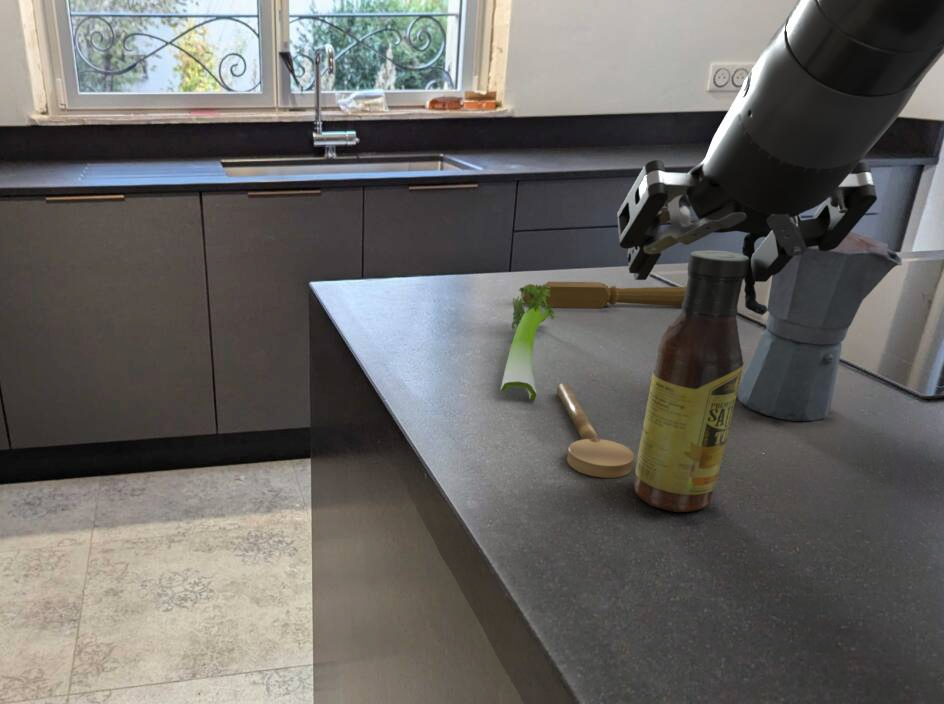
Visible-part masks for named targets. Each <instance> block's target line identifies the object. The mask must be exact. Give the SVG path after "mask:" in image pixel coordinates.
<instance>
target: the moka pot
mask: <svg viewBox="0 0 944 704" xmlns="http://www.w3.org/2000/svg"><path fill="white" fill-rule="evenodd" d="M771 231H772V229H770V228H769V229H765V230H761V231H760V233H746V235H745V236H744V237H743V244H742V245H743V246H742V252H741V253H742V255H745V256H747V257H748V258H749V264H748V271H747V275H746V276H745V278H744V279H743V282H744V284H745V285H744V290H743V291H744V293H745V295H744V306H745V308H746V309H747V310H749V311H752V312H753V313H755V314H758V315H761V316H763V315H765V314H766V313H768V316H767V319H766V323H765V327H766V328H765V330H764V331H763V333H762V335H761V336H760V339H759V341H758V344H757V346H756V348H755V351H754V353H753V355H752V356H751V358H750V361H749V364H748V366H747V368H746V370H745V372H744V375H743V377H742V380H741V382H739V386H738V391H737V395H736V398H737V399H738V400H739V401H740V402H741V403H742V404H744V406H746V408H749V409H751V410H753V411H755V412H759V413H760V414H763V415H764V416H768V417H772V418H774V419H779V420H786V421H790V422H791V421H792V422H815V421H819V420H821V419H824V418H825V417H827V415H828V414H829V411H830V409H831V405H832V400H833V396H834V390H835V384H836V379H837V373H838V368H839V363H840V360H841V353H842V346H843V344H842V342H843V341H844V340H845V338H846V337H847V334H848V331H849V328H850V327H851V325H852V323H853V322H854V319H855V317H856V315H857V314H858V311H859V309H860V306H861V305H862V303H863V301H865V299H866V298H867V297H868V296H869V295H870V294H871V293H872V292H873V290H874V289H875V288H876V287H877V286H878V285H879V284H880V283H881V282H882V281H883V279H885V277H886V276H887V275H888V274H889V273H890V272H891V271H892V270H893V269H894V268H895V267H897V266H902V265H903V258H902V257H900V256H899V255H898V254H897V252H895V251H894V250H892V249H890V248H889V247H888V243H886V242H883V241H880V240H877V239H875V238H871V237H869V236H867V235H866V236H865V235H863V234H860V233H856V232H854V231H850V232H849V234H848V235H847V236H846V237H845V238H844V240H843V241H842V242H841V243H840V244H839V246H838V247H836V248H835V249H832V250H829V251H820V250H819V249H818V246H813V247H807V250H806V251H805V252H804V253H802V254H800V255H797V256H793V258H792V259H791V260H790V261H789V262H788V263H787V264H786V265H785V267H784V268H783V269H782V270H781V271H780V272H779V273H777V274H775V275H772V276H771V281H770V286H769V287H770V288H769V293H768V295H769V296H768V301H767V305H765V304H761V303H760V302H758V301H757V300H756V299H757V293H756V289H755V285H756V282H755V281H754V279H753V273H752V267H751V258H752V255H753V254H754V253H755V251H756V250H755V244H756V242H757V241H758V240H759V239H761V238H766V237H767V236H768V235H769V234H770V232H771Z"/></svg>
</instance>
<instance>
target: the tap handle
mask: <svg viewBox="0 0 944 704" xmlns="http://www.w3.org/2000/svg"><path fill="white" fill-rule="evenodd" d="M531 285H533V286H536V284H531V283H529V284H525V286H526V287H525V286H524V287H525V288H527V287H528V286H529V287H531ZM544 285H546V286H547V285H548V286H550V287H549V288H547V287H545V286H544V289H543V290H542V291H544V290H546V289H545V288H547V290H551V291H550V292H549V294H550V295H551V296H550V297H549V296H546V297H547V298H548V299H546V302H547V304H548V305H549V307H551V309H553V308H559V309H560V308H562V309H565V308H566V309H603V308H604V307H605V306H606V305H607V304H609V305H612V306H614V305H615V304H638V305H655V306H674V307H682V302H683V301H684V298H685V293H686V288H687V286H650V287H649V286H648V287H617V286H616V285H611V286H610V287H609V286H608V285H607V284H606V283H603V282H601V281H547V282H546V283H545V284H544ZM529 291H530V290H529ZM522 294H523V292H521V291H520V297H521V298H522ZM530 297H531V296H530V294H526V292H525V291H524V300H523V302H524V303H525V302H528V301H529V300H530V301H532V300H531V298H530ZM532 299H534V298H533V296H532ZM551 303H552V304H551ZM528 304H529V303H528ZM542 304H544V306H545V305H546V304H545V302H544V301H543V303H542Z"/></svg>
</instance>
